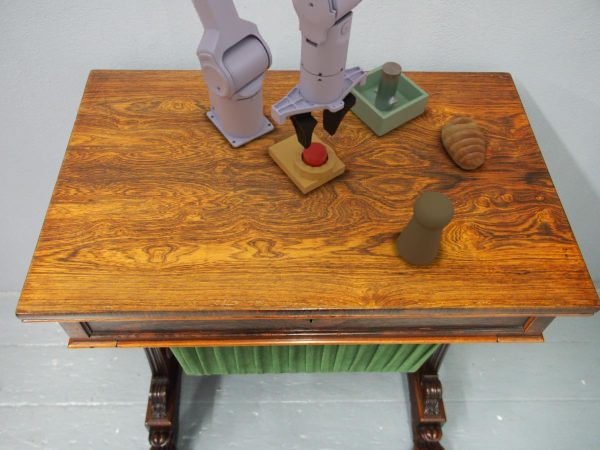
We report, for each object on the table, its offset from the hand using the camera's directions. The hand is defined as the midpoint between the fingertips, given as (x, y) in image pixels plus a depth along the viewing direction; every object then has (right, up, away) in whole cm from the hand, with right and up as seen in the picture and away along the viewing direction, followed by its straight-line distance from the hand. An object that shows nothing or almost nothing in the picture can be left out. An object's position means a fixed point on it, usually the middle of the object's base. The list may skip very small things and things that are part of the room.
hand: (316, 137), depth 73 cm
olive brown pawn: (+15, -16, -1) cm, 22 cm away
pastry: (+25, 0, +11) cm, 27 cm away
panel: (-1, -3, +7) cm, 8 cm away
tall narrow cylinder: (+12, +8, +15) cm, 21 cm away
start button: (0, -3, +4) cm, 5 cm away
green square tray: (+12, +8, +15) cm, 21 cm away
